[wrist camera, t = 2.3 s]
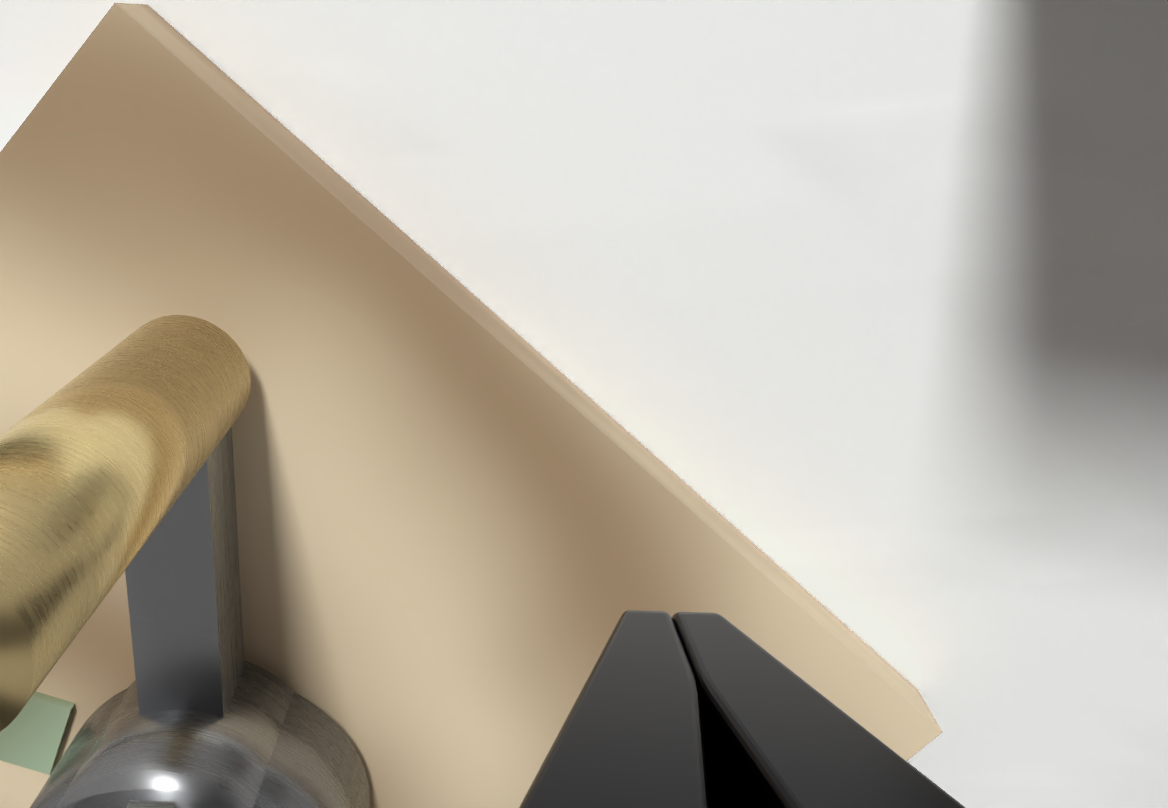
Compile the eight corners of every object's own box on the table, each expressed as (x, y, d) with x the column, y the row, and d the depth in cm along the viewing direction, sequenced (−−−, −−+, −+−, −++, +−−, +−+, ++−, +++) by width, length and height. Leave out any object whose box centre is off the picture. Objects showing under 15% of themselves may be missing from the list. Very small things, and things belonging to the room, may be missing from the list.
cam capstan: (370, 913, 18) (281, 1413, 12) (79, 909, 18) (-181, 1423, 11) (367, 320, 14) (233, 567, 8) (0, 301, 14) (-460, 543, 8)
